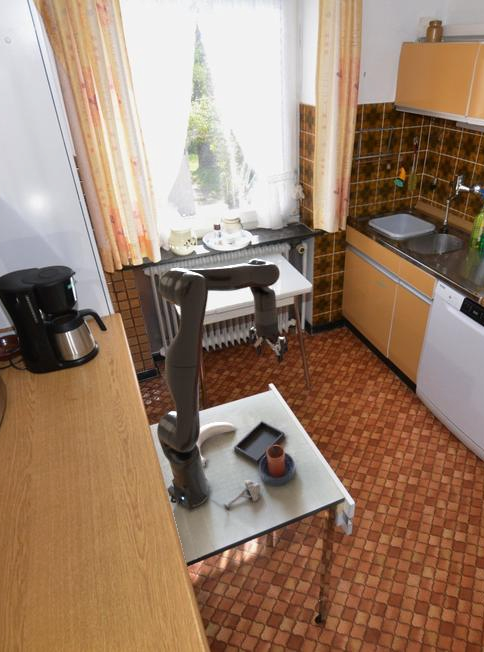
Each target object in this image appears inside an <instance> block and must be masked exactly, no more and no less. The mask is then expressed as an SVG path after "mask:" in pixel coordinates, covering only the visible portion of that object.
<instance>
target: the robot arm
mask: <svg viewBox="0 0 484 652" xmlns="http://www.w3.org/2000/svg"><path fill="white" fill-rule="evenodd" d="M280 275H281V272H280V268H279V266H278V265H277V264H275V263H273V262H271V261H267V260H262V259H260V258H253V259H251V260H249V261H248V262H247V263H239V264H233V265H227V266H222V267H211V268H179V267H176V268H175V267H174V268H171V269H168V270H167V271H165V272H164V273H163V275H161V277H160V279H159V283H158V291H159V294H160V296H161V297H162V298H163V299H164V300H165V301H167V302H168V303H171V304H173V305H175V306H178V307H179V310H180V319H179V328H178V331H177V332H176V335H175V336H174V337H173V338H172V340H171V342H170V343H169V345H168V347H167V350H166V352H165V359H164V376H165V382H166V384H167V388H168V391H169V393H170V396H171V398H172V400H173V404H174V408H175V410H171V411H167V412H166V413H165V414H164V415H162V417H161V418H160V419H159V422H158V424H157V429H156V434H157V438H158V442H159V445H160V447H161V450H162V453H163V455H164V457H165V458H166V459H167V461H168V463H169V467H170V469H171V473H172V477H173V478H172V480H171V483H172V484H171V485H170V486H169V487H167V488H166V490H167V494H168V493H169V494H168V496H169V497H171V498H170V502H171V503H172V504H176V503H178V504H182V505H183V506H185V507H186V508H187V509H189V510H191V509H193V508H196V507H198V506H200V505H202V504H204V503H205V502H206V501H207V499H208V497H209V494H210V489H209V485H208V479H207V477H206V473H205V469H204V466H203V464H202V460H201V456H202V455H201V456H200V453H201V450H200V451H199V448H198V446H197V444H196V443H197V441H198V438H199V434H200V428H201V422H200V421H201V420H200V400H199V399H200V378H201V377H200V376H201V364H202V343H203V342H202V340H203V332H204V322H205V316H206V312H207V311H206V310H207V304H208V298H209V297H208V296H209V292H232V291H239V290H243V289H247V288H249V289H250V291H251V294H252V297H253V308H254V310H253V315H254V326H253V327H252V328H250V329H249V330H248V337H249V338H248V339H249V344H250V345H253V347H254V350H255V355H256V356H257V357H260V356H261V355H262V354H263V349H262V347H263V346H264V345H265V346H268V347H270V348H271V350H272V351H274V352H275V353H276V363H277V364H281V363H282V362H283V361H284V356H285V355H286V354H287V353H288V352H289V346H288V338H287V336H283V337H282V336H280V335H279V317H278V316H279V315H278V309H277V299H276V298H277V297H276V292H275V290H274V289H273V288H272V287H271V286H273V285H275V284H276V283H277V282H278V280H279V279H280ZM257 338H258V339H257ZM262 345H263V346H262Z"/></svg>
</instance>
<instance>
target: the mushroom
mask: <svg viewBox="0 0 484 652" xmlns="http://www.w3.org/2000/svg"><path fill="white" fill-rule="evenodd" d="M244 484H245V488H244V489H243V490H242V491H241V492H240V493H238V495H237V496H235V497H234V498H233V499H231V500H230V501H228V502H224V505H225V506H226V508H227V509H229V507H230V506H231V505H233V504H234V503H236V501H238V500H239V499H240V498H245V499H249V498H252V501H253V502H256V501H257V500H258V499H259V494H260V492H261V485H260V483H258V482H256V481H255V480H250V479H246V480H245V481H244ZM247 491H248V492H249V494H250V495H248V494H245V493H246V492H247Z"/></svg>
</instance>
